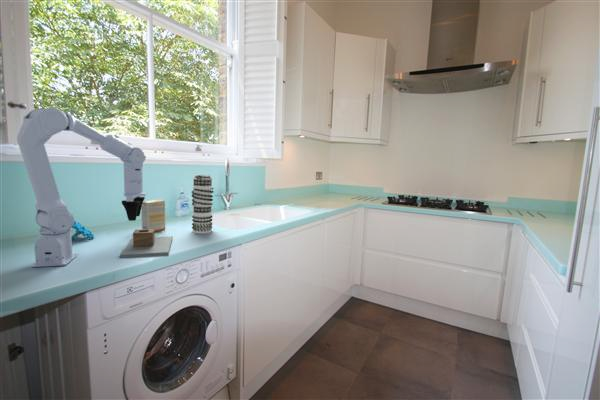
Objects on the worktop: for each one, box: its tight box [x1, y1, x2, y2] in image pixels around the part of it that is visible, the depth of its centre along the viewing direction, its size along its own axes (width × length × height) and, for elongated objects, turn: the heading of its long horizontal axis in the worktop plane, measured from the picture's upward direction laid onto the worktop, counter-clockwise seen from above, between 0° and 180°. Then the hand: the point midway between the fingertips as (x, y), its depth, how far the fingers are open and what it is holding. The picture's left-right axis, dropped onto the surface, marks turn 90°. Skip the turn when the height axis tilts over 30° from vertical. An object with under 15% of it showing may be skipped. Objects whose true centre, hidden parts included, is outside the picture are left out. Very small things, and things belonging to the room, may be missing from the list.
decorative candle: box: [191, 174, 214, 234], centre depth 128 cm, size 9×9×25 cm
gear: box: [71, 220, 95, 241], centre depth 108 cm, size 11×6×10 cm
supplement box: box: [140, 199, 166, 232], centre depth 125 cm, size 8×5×13 cm, turn 149°
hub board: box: [119, 235, 173, 259], centre depth 103 cm, size 20×14×5 cm
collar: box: [132, 228, 155, 247], centre depth 102 cm, size 5×6×5 cm
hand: (134, 218), depth 106 cm, fingers open, 7 cm apart
